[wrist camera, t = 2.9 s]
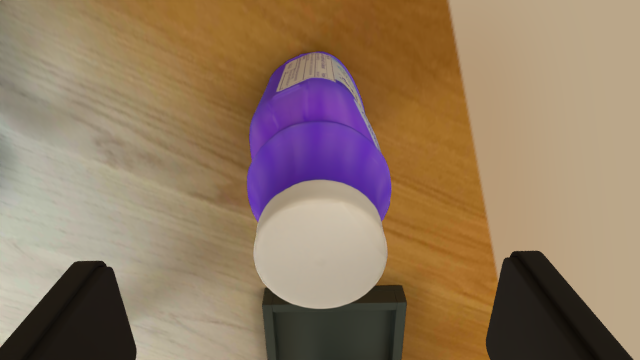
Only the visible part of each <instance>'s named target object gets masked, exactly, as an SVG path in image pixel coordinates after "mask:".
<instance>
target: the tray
mask: <svg viewBox="0 0 640 360" xmlns="http://www.w3.org/2000/svg"><path fill="white" fill-rule="evenodd" d="M406 306H407V302H406V298H405V295H404V291H403V288H402V286H374V287H373V288H372V289H371V290H370V291H369V292H368V293H367V294H365V295H364V296H362V297H361V298H359V299H357V300H355V301H353V302H351V303H349V304H346V305H343V306H339V307H335V308H327V309H314V308H307V307H301V306H298V305H295V304H292V303H289V302H287V301H285V300H283V299H282V298H280V297H278V296H277V295H276V294H274V293H273V292H272V291H271V290H270V289H269V288H265V292H264V297H263V303H262V309H263V319H264V329H265V339H266V348H267V358H268V360H401V358H402V348H403V337H404V327H405V316H406Z"/></svg>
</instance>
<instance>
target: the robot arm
mask: <svg viewBox="0 0 640 360" xmlns="http://www.w3.org/2000/svg"><path fill="white" fill-rule="evenodd" d="M486 348H487V352H488V355H489V357H490V359H491V360H633V359H632V358H631V356H630V355H629V354H628V353H627V352H626V350H625V349H624V348H623V347H622V346H621V345H620V343H619V342H618V341H617V340H616V339H615V338H614V337H613V335H612V334H611V333H610V332H609V331H608V329H607V328H606V327H605V326H604V325H603V324H602V322H601V321H600V320H599V319H598V318H597V317H596V315H595V314H594V313H593V312H592V311H591V309H590V308H589V307H588V306H587V305H586V304H585V302H584V301H583V300H582V299H581V298H580V297H579V295H578V294H577V293H576V292H575V291H574V290H573V288H572V287H571V286H570V285H569V284H568V283H567V281H566V280H565V279H564V278H563V277H562V276H561V274H560V273H559V272H558V271H557V270H556V269H555V267H554V266H553V265H552V264H551V263H550V262H549V260H548V259H547V258H546V257H545V256H544V254H542V253H541V252H540V251H514V252H512V254H511V255H510V258H505V259H504V261H503V264H502V269H501V273H500V278H499V282H498V287H497V291H496V296H495V300H494V305H493V310H492V314H491V319H490V323H489V328H488V332H487V337H486ZM136 353H137V352H136V345H135V342H134V338H133V335H132V332H131V328H130V325H129V321H128V318H127V315H126V311H125V308H124V304H123V301H122V298H121V294H120V291H119V287H118V284H117V281H116V277H115V274H114V271H113V269H112V268H111V267H107V266H106V264H105V263H104V262H103V261H77V262H74V263H73V264H72V265H71V266H70V267H69V268H68V270H67V271H66V272H65V273H64V274H63V275H62V277H61V278H60V279H59V280H58V281H57V282H56V284H55V285H54V286H53V287H52V288H51V289H50V290H49V292H48V293H47V294H46V295H45V296H44V297H43V299H42V300H41V301H40V302H39V303H38V304H37V306H36V307H35V308H34V309H33V310H32V311H31V313H30V314H29V315H28V316H27V317H26V318H25V319H24V321H23V322H22V323H21V324H20V325H19V326H18V328H17V329H16V330H15V331H14V332H13V333H12V335H11V336H10V337H9V338H8V339H7V340H6V342H5V343H4V344H3V345H2V346H1V347H0V360H136Z"/></svg>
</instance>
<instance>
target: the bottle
mask: <svg viewBox="0 0 640 360" xmlns="http://www.w3.org/2000/svg"><path fill="white" fill-rule="evenodd" d="M249 141H250V150H251V157H252V163H251V165H250V167H249V170H248V175H247V191H248V198H249V203H250V206H251V209H252V212H253V214H254V216H255V218H256V220H257V221H258V225H257V231H256V238H255V242H254V251H253V254H254V262H255V267H256V270H257V272H258V275H259V276H260V278H261V280H262V281H263V283H264V284H265V285H266V286H267V287H268V288H269V289H270V290H271V291H272V292H273V293H274V294H276V295H277V296H278V297H280V298H282V299H283V300H285V301H287V302H289V303H292V304H295V305H298V306H301V307H307V308H314V309H327V308H335V307H339V306H343V305H346V304H349V303H351V302H353V301H355V300H357V299H359V298H361V297H362V296H364V295H365V294H367V293H368V292H369V291H370V290H371V289H372V288H373V287H374V286H375V285H376V283H377V282H378V281H379V279H380V277H381V276H382V274H383V271H384V269H385V265H386V261H387V243H386V238H385V235H384V231H383V228H382V220H383V219H384V217H385V215H386V213H387V210H388V208H389V205H390V197H391V179H390V173H389V168H388V165H387V163H386V161H385V158H384V157H383V155H382V154H381V150H380V147H379V144H378V141H377V139H376V136H375V134H374V132H373V129H372V127H371V125H370V123H369V121H368V119H367V117H366V115H365V111H364V106H363V103H362V99H361V96H360V94H359V91H358V89H357V86H356V84H355V82H354V80H353V78H352V76H351V74H350V73H349V71H348V70H347V68H346V67H345V66H344V65H343V64H342V63H341V61H340V60H339V59H337V58H336V57H334V56H333V55H331V54H328V53H325V52H312V53H307V54H301V55H299V56H297V57H294V58H292V59H290V60H288V61H287V62H285V63H284V64H283V65H282V66H280V67H279V68H278V69H277V70H276V71H275V72H274V73H273V74H272V76H271V78H270V80H269V83H268V85H267V87H266V89H265V92H264V94H263V96H262V98H261V100H260V102H259V105H258V107H257V109H256V111H255V113H254V116H253V118H252V121H251V125H250V134H249Z"/></svg>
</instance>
